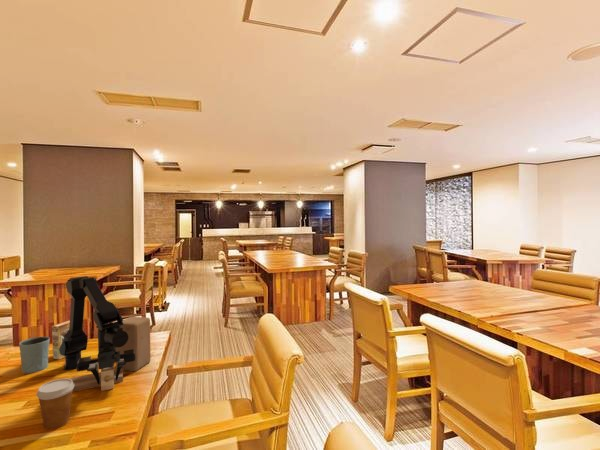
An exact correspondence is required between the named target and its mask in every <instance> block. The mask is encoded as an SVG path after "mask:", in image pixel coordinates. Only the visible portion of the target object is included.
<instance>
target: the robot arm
mask: <svg viewBox="0 0 600 450" xmlns="http://www.w3.org/2000/svg"><path fill="white" fill-rule="evenodd" d="M65 289H66V291H67V294H68V295H69V297H70V298H71V300H70V313H69V320H70V325H69V330H68V332H67V333H66V334H65V336H64V340H63V342H62V344H61V346H60V348H59V351H60V354H61V355H63V356H65V357H64V358H65V359H64V363H65V364H64V366H63V371H68V370H72V369H73V370H74V369H76V372H82V371H86V372H91V374H93V375H94V376H95V378H96V381H97V383H98V384H100V377H99V372H100V371H99V370H101V369H104V368H108V367H109V368H111V367H113V366H114V367H115V364H116V363H117V368H116V369H117V370H116V381H117V379H118V376H119V373H120V370H121V368H122V366H123V365H125V364H126V362H132V361H135V350H134V349H131V350H125V351H124V354H120V351H118V352H116V347H122V346H124V345H125V344H126V343H127V341H128V334H127V332H125V331H123V328H122V327H119V326H121V325H123V322H122V321H123V320H124V319H123V317H122V315H121V313H120V311H119V309H118V308H117V306H116V304H114V303H113V302H110V301H108V300H107V298H106V297H105V295H104V293H103V292H102V290H101V288H100V286H99V285H98V281H97V278H96V277H94V276H91V277H89V276H87V275H86V276H85V275H84V276H76V277H71V278H69V279H68V280H67V281H66V283H65ZM86 298H87V299H88V300H89V302H90V304H91V305H92V307H93V313H92V317H93V322H94V323H95V325H96V328H97V344H98V345H97V349H98V350H97V358H92V357H91V356H84V357H82V351H87V347H88V341H89V340H88V335H87V334H86V332H85V331H84V330H83V329H84V328H83V327H84V316H85V304H86V303H85V301H86Z"/></svg>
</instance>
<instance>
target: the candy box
mask: <svg viewBox="0 0 600 450" xmlns="http://www.w3.org/2000/svg"><path fill="white" fill-rule="evenodd" d="M69 325H70V319H68V320H65V321H63V322H60V323H56V324H52V326H51V331H52V332H51V333H52V341H51V342H52V359H53V360H62V359H64V358H65V356H63V355H61V354H60V351H59V348H60V346H61V344H62V342H63V340H64V336H65V334H66V333H67V332H68V330H69Z"/></svg>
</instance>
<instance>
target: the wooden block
mask: <svg viewBox="0 0 600 450" xmlns="http://www.w3.org/2000/svg"><path fill="white" fill-rule="evenodd" d="M122 322H123V325H121V326H119V327H122V328H123V331H125V332H127V334H128V341H127V343H126V344H125V345H124V346H122V347H116V352H118V351H120V354H124V351H125V350H131V349H134V350H135V361H132V362H126V364H125V365H123V366H122V368H123V371H130V372H137V371H139V370H140V369H142V368H143V367H145V366H146V365H148V364H149V363H150V362H151V359H152V357H151V319H150V317H146V316H145V317H142V316H130V317H128V318H124V319H123V321H122ZM115 369H117V363H115Z"/></svg>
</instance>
